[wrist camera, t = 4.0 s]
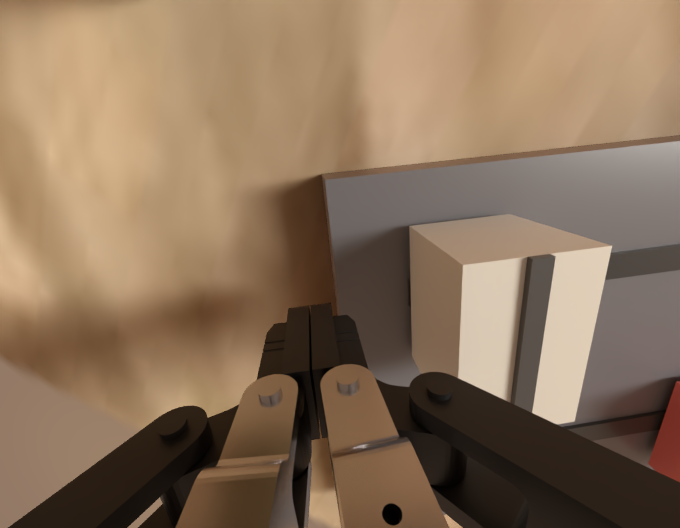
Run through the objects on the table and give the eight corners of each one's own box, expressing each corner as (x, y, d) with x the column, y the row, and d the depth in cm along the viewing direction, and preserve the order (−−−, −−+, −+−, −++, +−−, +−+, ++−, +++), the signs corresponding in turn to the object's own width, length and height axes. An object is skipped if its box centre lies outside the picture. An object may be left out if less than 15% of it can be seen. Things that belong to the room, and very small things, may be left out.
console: (321, 174, 14) (325, 180, 11) (796, 122, 16) (911, 116, 13) (355, 478, 21) (364, 532, 18) (683, 423, 23) (740, 465, 20)
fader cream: (409, 225, 12) (466, 267, 8) (509, 214, 12) (619, 247, 8) (411, 356, 14) (458, 446, 10) (497, 343, 14) (579, 426, 10)
